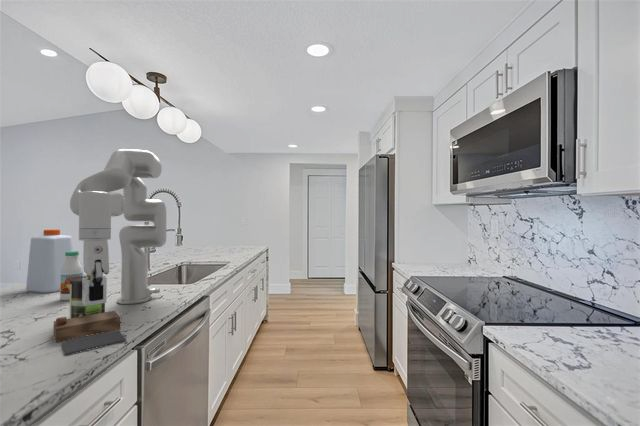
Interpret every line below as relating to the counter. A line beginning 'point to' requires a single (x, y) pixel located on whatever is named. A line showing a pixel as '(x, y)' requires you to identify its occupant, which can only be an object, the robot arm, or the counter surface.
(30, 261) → the plastic bottle
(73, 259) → the milk bottle
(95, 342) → the rubber mat
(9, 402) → the counter surface
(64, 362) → the counter surface
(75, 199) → the robot arm
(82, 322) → the brown knobbed block
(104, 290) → the lever cap
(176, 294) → the counter surface
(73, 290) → the coffee can
